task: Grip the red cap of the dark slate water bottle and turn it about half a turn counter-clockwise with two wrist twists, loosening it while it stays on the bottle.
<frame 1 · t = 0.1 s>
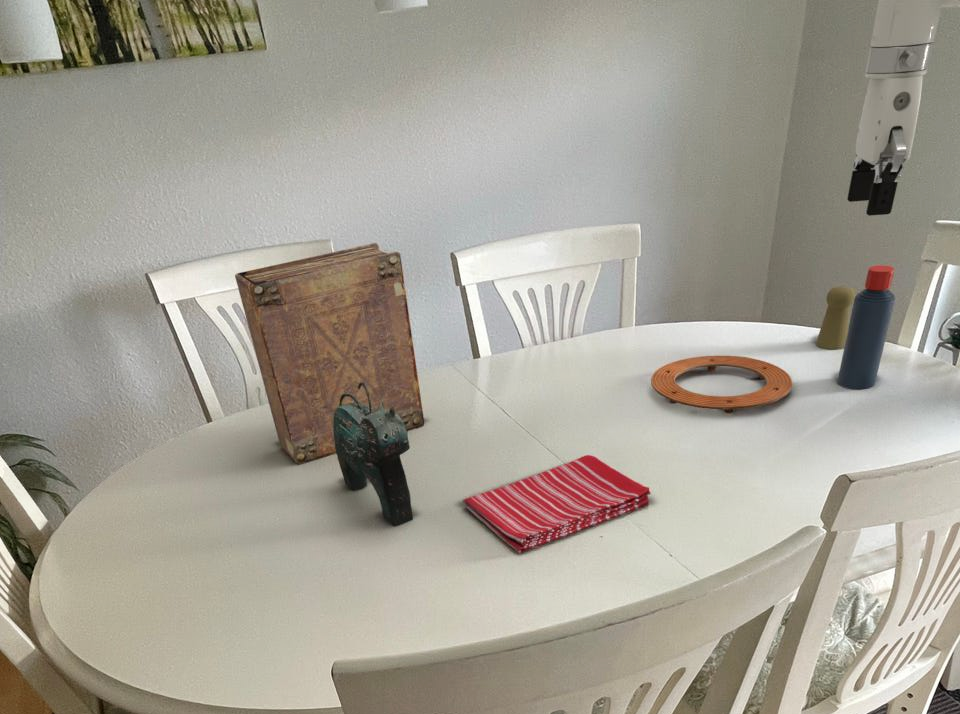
hand: (867, 207, 114), 32 cm above the table, tool pointing down, fingers open, 9 cm apart
bottle: (855, 382, 144), on the table
dark green carved figure: (376, 505, 123), on the table
book: (353, 437, 144), on the table
ring: (719, 391, 146), on the table
dish towel: (557, 507, 118), on the table
olive pawn figure: (831, 345, 160), on the table
cap: (881, 270, 132), point 19 cm above the table, screwed on, not yet turned
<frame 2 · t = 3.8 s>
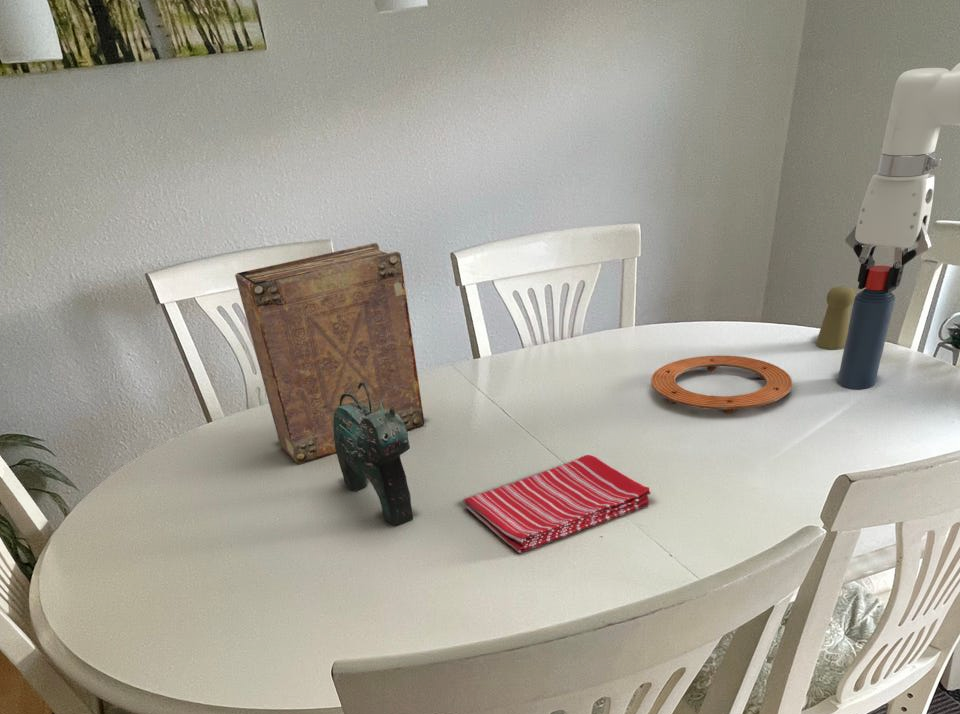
hand: (877, 287, 134), 17 cm above the table, tool pointing down, fingers closed on cap, 3 cm apart
cap: (881, 270, 132), point 19 cm above the table, screwed on, not yet turned, touching gripper
everything else where it was.
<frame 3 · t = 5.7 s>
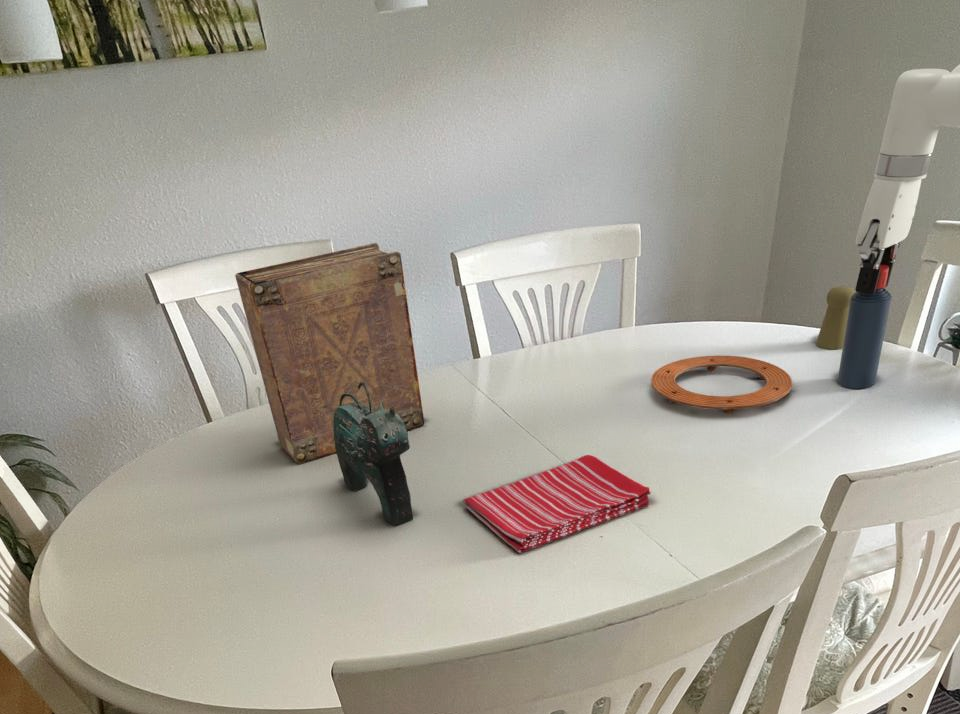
hand: (871, 288, 134), 17 cm above the table, tool pointing down, fingers closed on cap, 3 cm apart
bottle: (856, 382, 144), on the table, touching gripper
cap: (876, 269, 132), point 20 cm above the table, turned 90° so far, risen 0.1 cm, still on its thread, touching gripper
everything else where it was.
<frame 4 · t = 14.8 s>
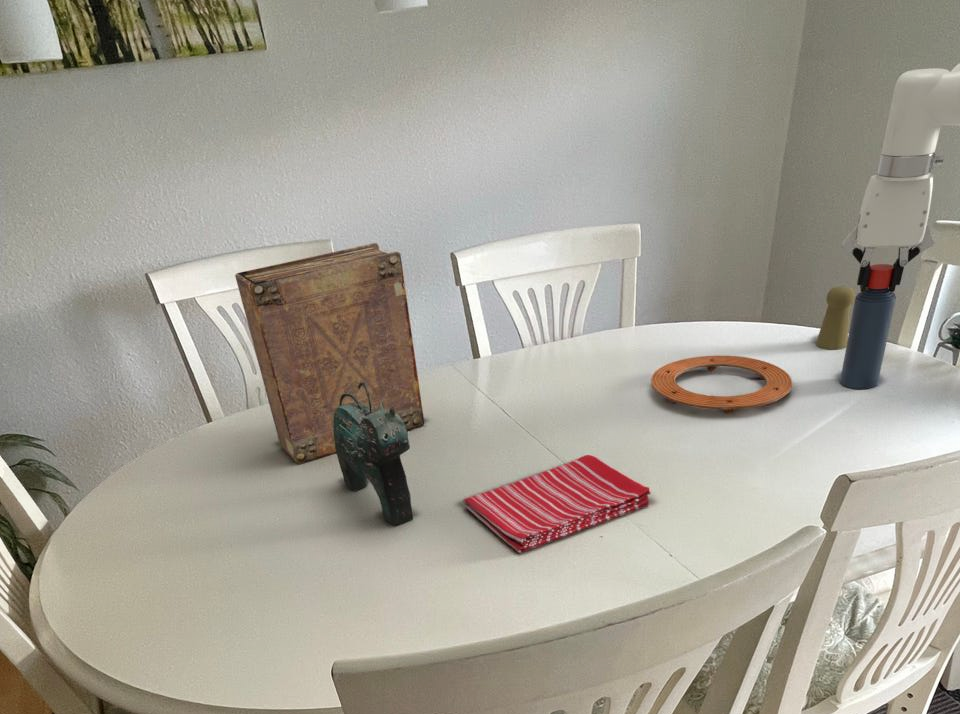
hand: (877, 288, 134), 17 cm above the table, tool pointing down, fingers closed on cap, 3 cm apart
bottle: (858, 382, 144), on the table
cap: (881, 269, 132), point 20 cm above the table, turned 118° so far, risen 0.1 cm, still on its thread, touching gripper
everything else where it was.
when the fingers open (17 cm above the table, at t = 15.9 s): cap stays where it is, point 20 cm above the table.
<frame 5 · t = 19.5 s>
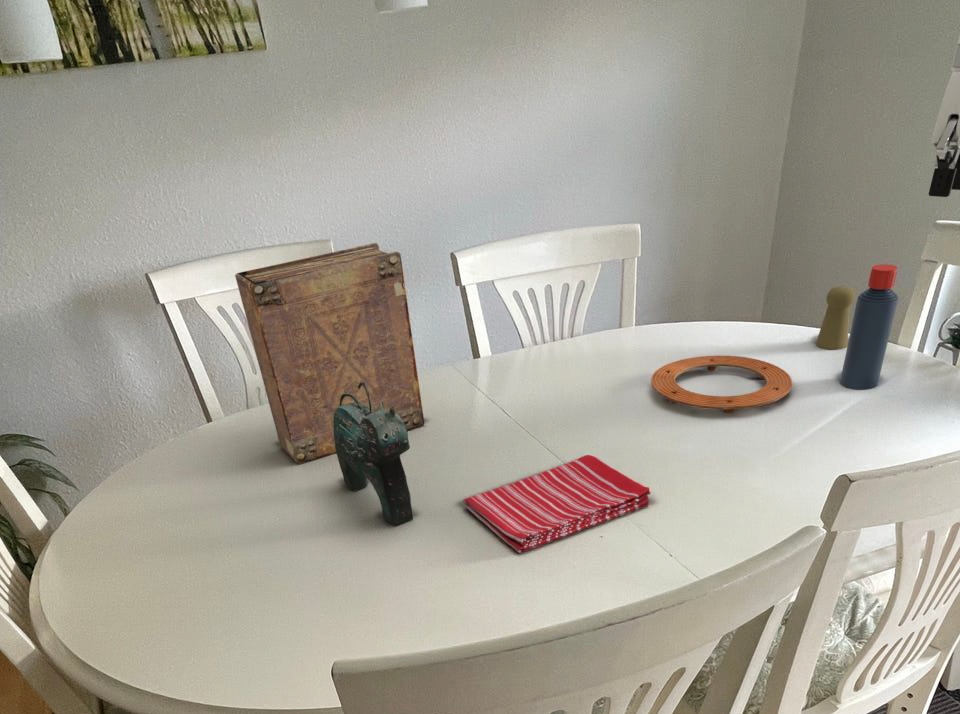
hand: (946, 191, 130), 29 cm above the table, tool pointing down, fingers open, 5 cm apart
cap: (884, 269, 132), point 20 cm above the table, turned 179° so far, risen 0.2 cm, still on its thread
everything else where it was.
at the end: cap turned 0.50 turns (still on its thread); cap is still on its thread (0.50 turns); bottle tilted 0° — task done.
